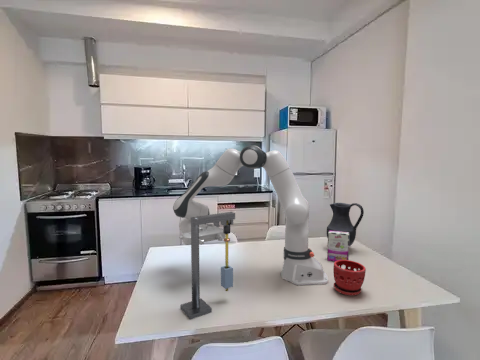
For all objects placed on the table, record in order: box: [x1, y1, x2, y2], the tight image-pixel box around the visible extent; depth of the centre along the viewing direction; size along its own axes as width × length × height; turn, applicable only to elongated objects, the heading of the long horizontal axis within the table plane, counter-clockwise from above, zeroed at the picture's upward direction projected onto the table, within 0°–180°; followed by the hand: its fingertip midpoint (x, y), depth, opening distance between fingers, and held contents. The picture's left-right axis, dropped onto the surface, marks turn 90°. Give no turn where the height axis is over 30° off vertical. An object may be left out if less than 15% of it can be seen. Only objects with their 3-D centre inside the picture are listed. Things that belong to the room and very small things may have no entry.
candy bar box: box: [326, 231, 350, 263], centre depth 164 cm, size 11×5×16 cm, turn 68°
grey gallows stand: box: [179, 211, 236, 320], centre depth 116 cm, size 22×9×36 cm, turn 124°
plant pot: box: [332, 260, 367, 296], centre depth 130 cm, size 13×13×12 cm
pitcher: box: [326, 202, 364, 248], centre depth 179 cm, size 17×21×30 cm
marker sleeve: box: [220, 264, 234, 289], centre depth 121 cm, size 4×4×8 cm
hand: (212, 240), depth 130 cm, fingers open, 8 cm apart
